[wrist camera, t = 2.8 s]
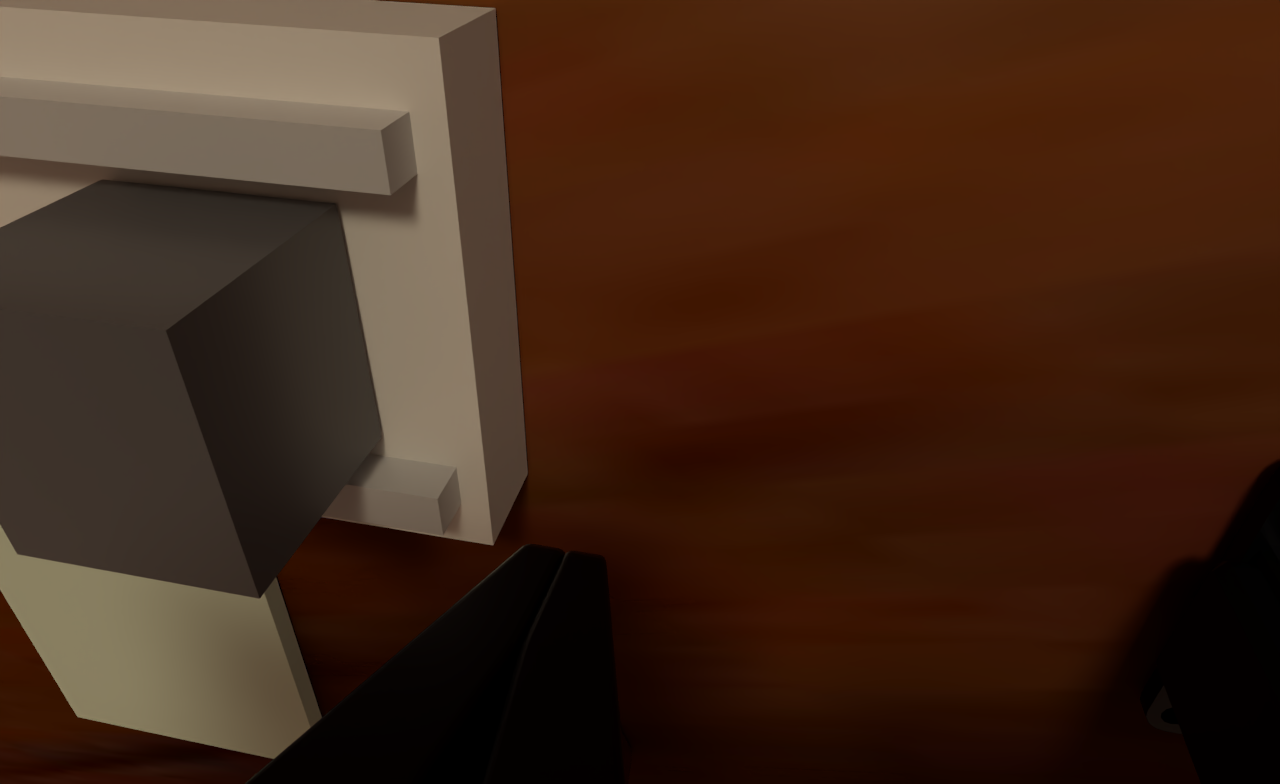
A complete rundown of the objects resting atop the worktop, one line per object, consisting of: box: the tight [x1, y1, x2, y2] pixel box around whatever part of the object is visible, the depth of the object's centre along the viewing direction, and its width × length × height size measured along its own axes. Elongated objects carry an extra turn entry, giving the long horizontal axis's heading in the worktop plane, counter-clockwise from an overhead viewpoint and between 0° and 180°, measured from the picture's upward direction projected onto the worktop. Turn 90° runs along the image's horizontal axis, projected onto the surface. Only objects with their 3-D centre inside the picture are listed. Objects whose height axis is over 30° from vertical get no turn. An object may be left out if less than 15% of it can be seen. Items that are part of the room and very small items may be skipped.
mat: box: [0, 525, 322, 759], centre depth 22 cm, size 8×8×1 cm
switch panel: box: [0, 0, 528, 545], centre depth 14 cm, size 16×8×3 cm, turn 89°
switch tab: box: [0, 179, 382, 599], centre depth 11 cm, size 4×4×4 cm
